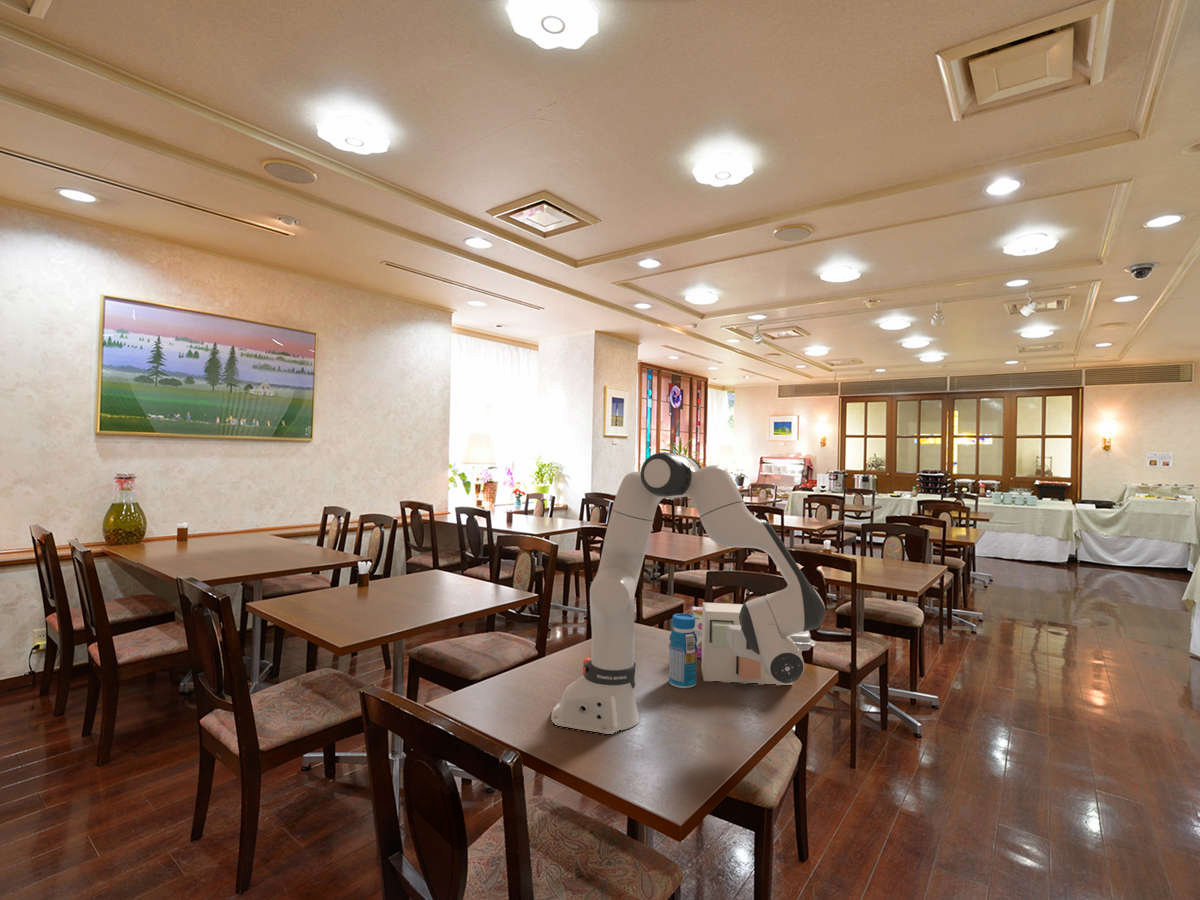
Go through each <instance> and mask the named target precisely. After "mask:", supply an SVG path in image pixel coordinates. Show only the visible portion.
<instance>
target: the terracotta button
mask: <svg viewBox="0 0 1200 900" xmlns="http://www.w3.org/2000/svg"><path fill="white" fill-rule="evenodd" d="M736 673H738V675H739V678H749V679H761V662H759V661H756V660H753V659H749V658H744V657H739V656H737V671H736Z"/></svg>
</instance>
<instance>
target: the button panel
mask: <svg viewBox="0 0 1200 900" xmlns="http://www.w3.org/2000/svg"><path fill="white" fill-rule="evenodd" d="M743 604H744V603H742V604H741V603H726V602H725V603H724V602H720V603H719V602H702V607H703V612H702V659H701V665H700V666H701V673H702V678H703V682H713V681H721V682H720V683H730V682H741V683H740V684H747V683H758V684H757V685H764V684H776V685H775V686H780V685H793V683H794V682H792V683H787V684H784V683H780V682H777V681H775V680H774V679H773V678H771V677H770V676H769V674H768V673H767V672H766V671H765V669H764V667H763V666H762V664H761V679H749V678H739V675H738V672H737V655H736V653H735V650H734V649H732V648H731V647H728V646H712V642H711V620H727V621H732V624H733V625H740V620H739V614H740V611H741V608H742V606H743ZM722 681H723V682H722ZM742 682H743V683H742ZM777 684H779V685H777Z"/></svg>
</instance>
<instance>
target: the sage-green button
mask: <svg viewBox="0 0 1200 900" xmlns="http://www.w3.org/2000/svg"><path fill="white" fill-rule="evenodd" d="M727 625H733V624H732V621H727V620H711V642H712V646H728V647H730V646H729V644H728V642H727V640H726V626H727Z"/></svg>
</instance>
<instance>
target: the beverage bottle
mask: <svg viewBox="0 0 1200 900" xmlns="http://www.w3.org/2000/svg"><path fill="white" fill-rule="evenodd" d="M671 622H672V624H671V625H672V626H671V627H672V628H673V629H672V631H671V633H670V635H669V641H670V642H669V645H668V651H669V658H668V659H669V661H668V662H669V663H668V668H669V669H668V682H669V684H670V685H671V686H673V687H675V688H679V689H691V688H693V687H695V686H696V685H697V667H698V666H697V660H698V659H697V651H698V649H697V645H696V643H697V637H696V634H695V632H694V631H693V629H694V628H695V617H694V616H693V615H691V613H690V614H689V613H675V614H673V615H672V619H671Z"/></svg>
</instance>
